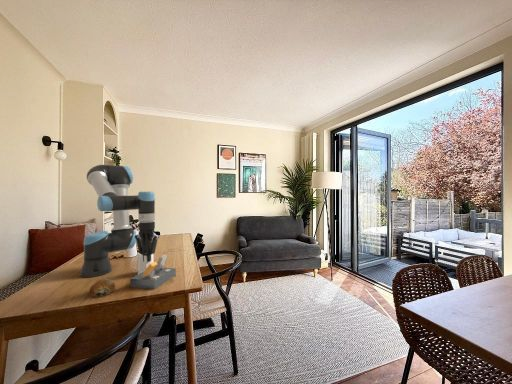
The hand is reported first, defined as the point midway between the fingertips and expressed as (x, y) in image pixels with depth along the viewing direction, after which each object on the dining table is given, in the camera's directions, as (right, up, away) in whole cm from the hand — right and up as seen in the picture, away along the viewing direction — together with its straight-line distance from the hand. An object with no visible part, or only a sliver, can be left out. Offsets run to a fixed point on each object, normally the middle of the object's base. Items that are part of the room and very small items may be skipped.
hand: (147, 267), depth 114 cm
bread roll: (-17, -9, -9) cm, 21 cm away
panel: (+1, -9, +5) cm, 10 cm away
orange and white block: (-1, -4, +1) cm, 4 cm away
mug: (-10, -9, +16) cm, 21 cm away
